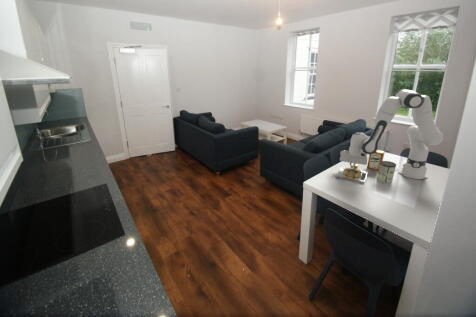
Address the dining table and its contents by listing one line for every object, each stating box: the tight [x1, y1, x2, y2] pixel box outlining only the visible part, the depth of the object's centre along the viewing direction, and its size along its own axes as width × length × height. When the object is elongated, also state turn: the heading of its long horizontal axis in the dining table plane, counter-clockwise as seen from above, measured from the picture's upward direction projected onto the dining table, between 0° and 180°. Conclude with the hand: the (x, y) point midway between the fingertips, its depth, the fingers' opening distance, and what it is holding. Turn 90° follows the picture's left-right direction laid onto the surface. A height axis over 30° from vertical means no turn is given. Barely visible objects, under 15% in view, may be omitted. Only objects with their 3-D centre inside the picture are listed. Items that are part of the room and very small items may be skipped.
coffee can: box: [376, 160, 397, 184], centre depth 175 cm, size 10×10×14 cm
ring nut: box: [343, 164, 363, 177], centre depth 185 cm, size 13×18×4 cm
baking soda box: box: [366, 149, 385, 172], centre depth 195 cm, size 10×6×16 cm
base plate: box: [335, 166, 369, 185], centre depth 184 cm, size 20×20×6 cm
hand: (351, 167), depth 192 cm, fingers closed
